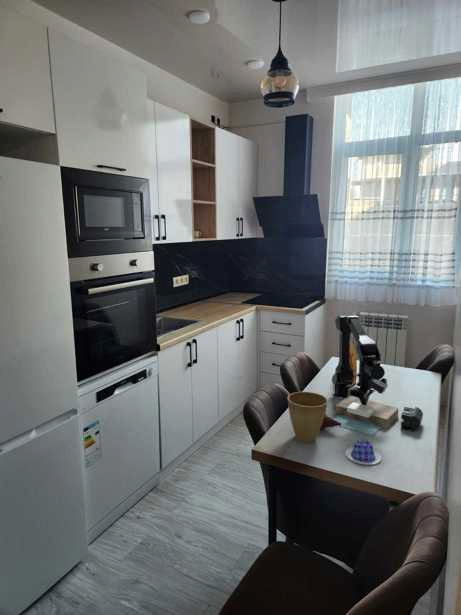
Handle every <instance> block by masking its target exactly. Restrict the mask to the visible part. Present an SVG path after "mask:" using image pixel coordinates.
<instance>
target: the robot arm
mask: <svg viewBox="0 0 461 615" xmlns="http://www.w3.org/2000/svg"><path fill="white" fill-rule="evenodd" d="M334 322H335V328H336V330H337V332H338V333H339V339H338V340H339V343H338V344H339V348H338V350H339V352H338V354H339V355H338V358H339V359H338V363H339V364H337V365H336V367H335V370H334V373H333V375H332V376H331V383H332V384H333V385H334V390H333V391H334V393H333V394H332V397H333V396H334V397H337V398H340V399H343V400H344V399H345V398H347V397H348V396H353V397H357V398H359V400H360V402H361V404H362V405H367V402H368V400H369V399H370V397H371V395H372V394H373V393H375V392H377V393H378V394H381V395H382V394H383V393H384V392H385V391H386V389H387V388H388V384H389V383H388V380H387V378H385V373H386V371H385V369H384V367H383V366H381V361H382V358H381V354H380V350H379V347H378V345H377V344H376V342H375V340H373V339H372V338H370V337H369V336H368V335H367V333H366V331H365V329H364V328H363V325H362V323H361V322H360V318H359V316H358V315H352V314H350V315H349V314H346V315H338V316H337V317H336V318H335V320H334ZM351 334H352V335H353V337H354V339H355V341H356V347H355V348H356V349H355V350H356V354H358V356H357V358H358V360H359V362H358V363H359V365H358V372H357V378H358V381H357V382H356V386H354V387H353V388H352V389H351V386H349V384H351V385H352V383H353V379H354V374H353V369H352V368H351V366H350V365H349V361H350V341H351Z"/></svg>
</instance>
